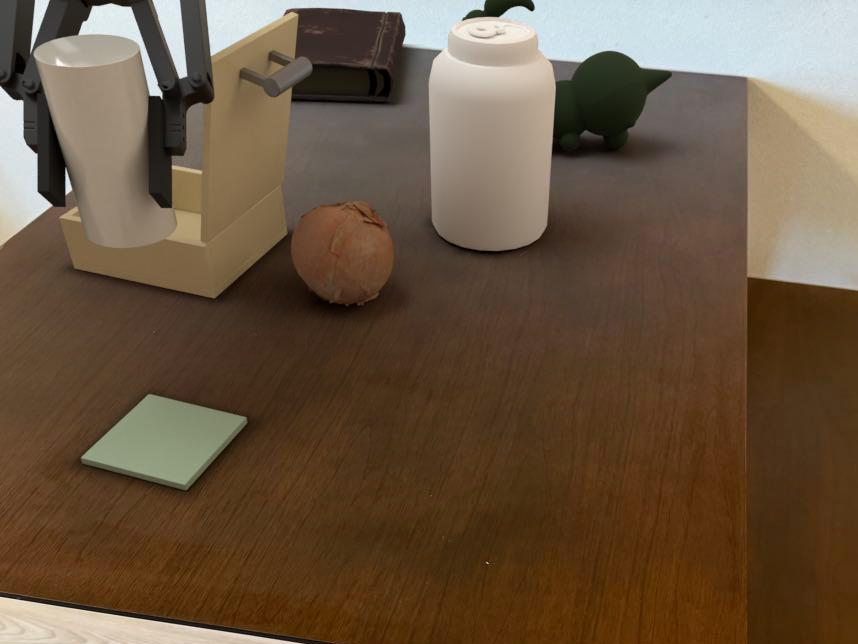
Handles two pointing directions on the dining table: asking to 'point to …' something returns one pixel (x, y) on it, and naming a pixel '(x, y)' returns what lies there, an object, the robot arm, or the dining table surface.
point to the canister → (104, 136)
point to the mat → (165, 441)
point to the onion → (343, 252)
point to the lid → (248, 122)
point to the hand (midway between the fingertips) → (106, 199)
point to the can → (491, 135)
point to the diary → (348, 53)
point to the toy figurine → (593, 91)
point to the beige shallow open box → (185, 244)
